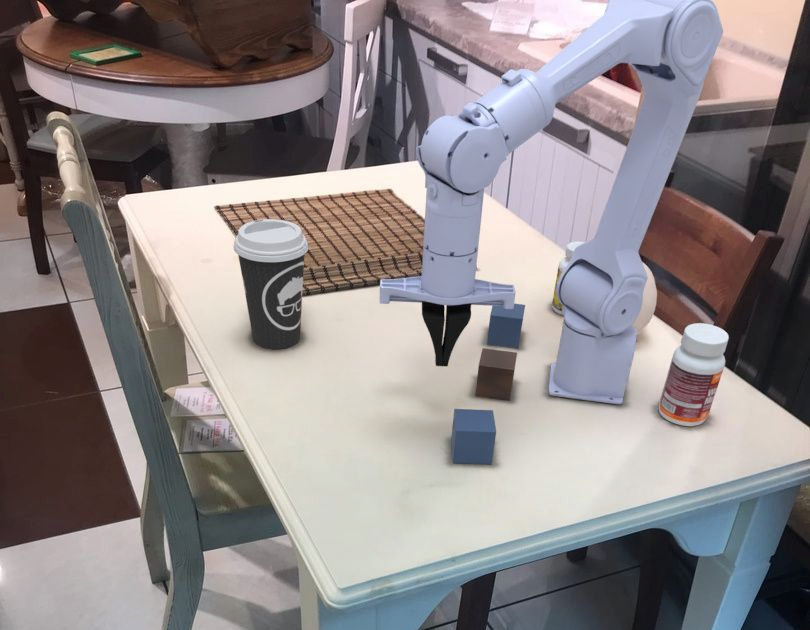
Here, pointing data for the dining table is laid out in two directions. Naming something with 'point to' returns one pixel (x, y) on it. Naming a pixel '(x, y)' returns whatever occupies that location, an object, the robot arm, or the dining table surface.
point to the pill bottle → (694, 375)
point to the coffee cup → (272, 279)
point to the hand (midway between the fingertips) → (441, 362)
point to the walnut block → (495, 374)
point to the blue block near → (473, 436)
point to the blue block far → (505, 326)
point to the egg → (647, 302)
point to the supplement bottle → (562, 265)
